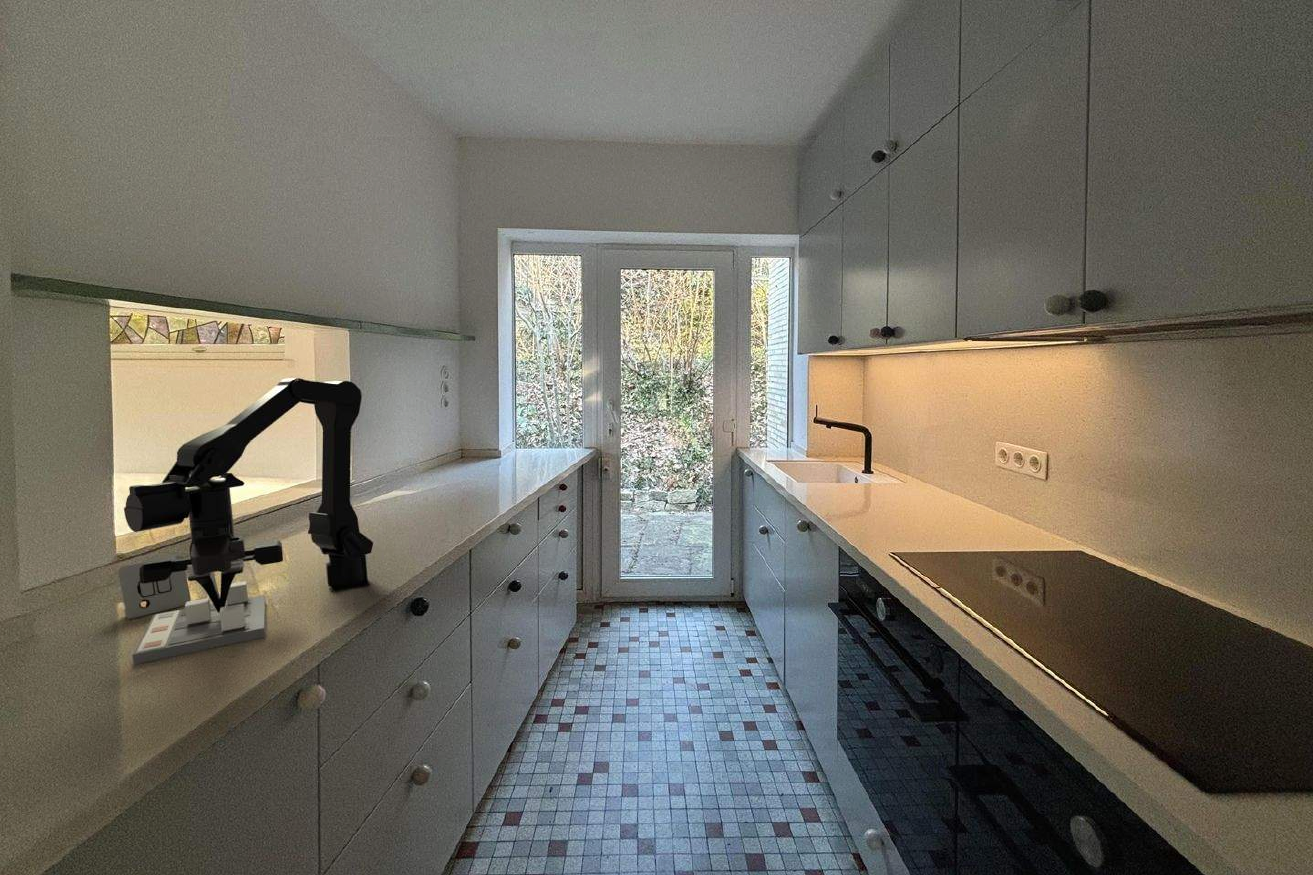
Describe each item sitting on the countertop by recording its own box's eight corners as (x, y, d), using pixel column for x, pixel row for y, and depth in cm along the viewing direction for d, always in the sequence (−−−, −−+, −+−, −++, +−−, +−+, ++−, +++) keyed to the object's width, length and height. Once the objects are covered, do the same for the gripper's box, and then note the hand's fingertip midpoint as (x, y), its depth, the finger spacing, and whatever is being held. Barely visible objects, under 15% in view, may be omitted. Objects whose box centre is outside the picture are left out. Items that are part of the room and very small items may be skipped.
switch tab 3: (245, 621, 100) (243, 603, 100) (245, 626, 98) (243, 607, 98) (222, 626, 98) (220, 607, 98) (221, 631, 96) (219, 612, 96)
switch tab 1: (211, 615, 103) (209, 597, 103) (209, 620, 101) (207, 601, 101) (188, 619, 102) (186, 601, 102) (186, 624, 100) (184, 606, 100)
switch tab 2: (248, 597, 112) (246, 580, 112) (247, 601, 110) (246, 584, 110) (227, 600, 110) (226, 584, 110) (227, 604, 108) (225, 587, 108)
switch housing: (265, 602, 114) (264, 593, 114) (265, 637, 98) (263, 626, 98) (154, 623, 106) (153, 613, 106) (133, 664, 90) (132, 653, 90)
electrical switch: (127, 621, 108) (119, 567, 107) (119, 617, 111) (112, 566, 111) (192, 604, 115) (185, 554, 115) (184, 602, 118) (177, 553, 118)
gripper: (127, 536, 90) (139, 642, 91) (279, 517, 100) (288, 613, 101) (140, 523, 99) (151, 619, 101) (278, 507, 109) (286, 594, 110)
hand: (221, 611), depth 103 cm, fingers closed
